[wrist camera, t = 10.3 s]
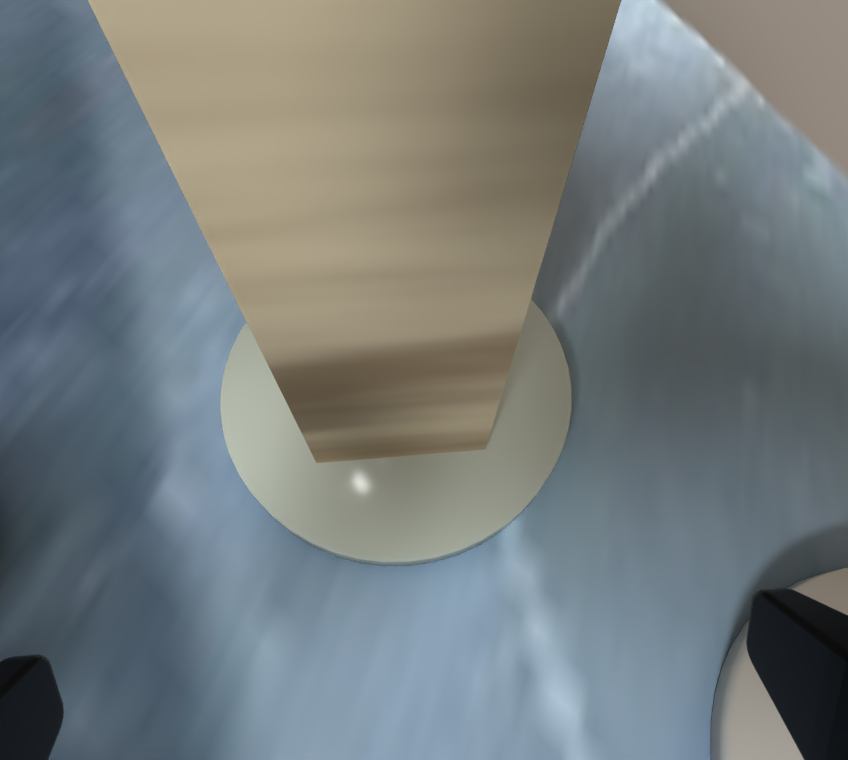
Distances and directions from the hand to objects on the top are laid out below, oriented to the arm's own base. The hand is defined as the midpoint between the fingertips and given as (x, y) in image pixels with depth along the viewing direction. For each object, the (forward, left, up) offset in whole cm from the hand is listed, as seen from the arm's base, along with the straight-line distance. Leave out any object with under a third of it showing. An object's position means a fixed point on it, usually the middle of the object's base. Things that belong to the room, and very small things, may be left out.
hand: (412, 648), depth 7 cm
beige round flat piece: (+8, -2, -9) cm, 12 cm away
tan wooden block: (+8, -2, -8) cm, 11 cm away
